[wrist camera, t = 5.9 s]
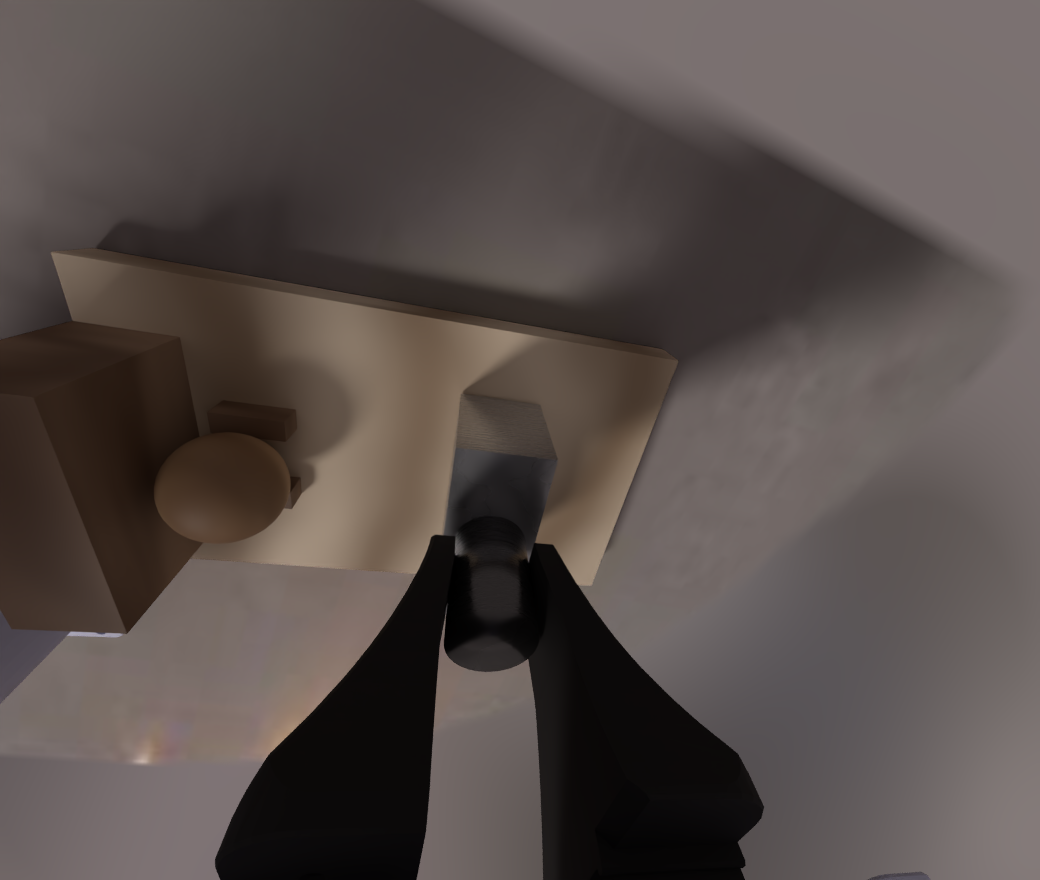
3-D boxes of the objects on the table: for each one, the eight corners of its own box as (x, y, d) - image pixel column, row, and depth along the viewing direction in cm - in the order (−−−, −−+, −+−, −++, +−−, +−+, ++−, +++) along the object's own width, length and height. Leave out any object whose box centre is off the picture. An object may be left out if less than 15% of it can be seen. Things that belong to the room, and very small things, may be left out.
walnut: (207, 492, 15) (138, 563, 12) (190, 407, 14) (104, 464, 11) (308, 502, 16) (267, 572, 13) (303, 421, 14) (254, 479, 11)
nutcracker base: (170, 531, 19) (36, 669, 13) (93, 247, 13) (-200, 274, 7) (584, 563, 22) (621, 684, 16) (662, 349, 16) (759, 420, 11)
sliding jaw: (441, 537, 18) (420, 718, 12) (460, 393, 15) (447, 532, 8) (507, 542, 19) (523, 719, 12) (540, 404, 15) (585, 544, 9)
